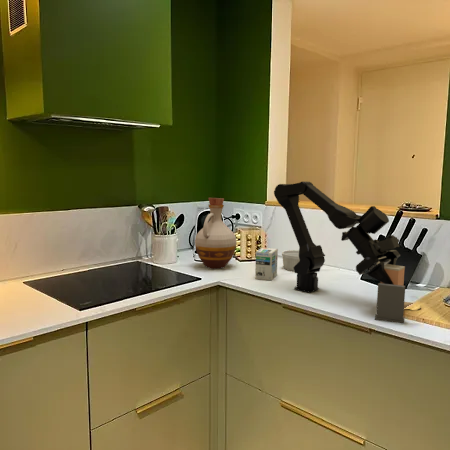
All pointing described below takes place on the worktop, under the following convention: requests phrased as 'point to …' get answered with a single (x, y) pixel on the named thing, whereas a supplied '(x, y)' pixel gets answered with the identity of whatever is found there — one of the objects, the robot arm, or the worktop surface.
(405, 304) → the coaster
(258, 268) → the light bulb box
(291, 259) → the ramekin
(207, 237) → the jug
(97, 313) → the worktop surface
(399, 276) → the tin
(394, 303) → the screen
